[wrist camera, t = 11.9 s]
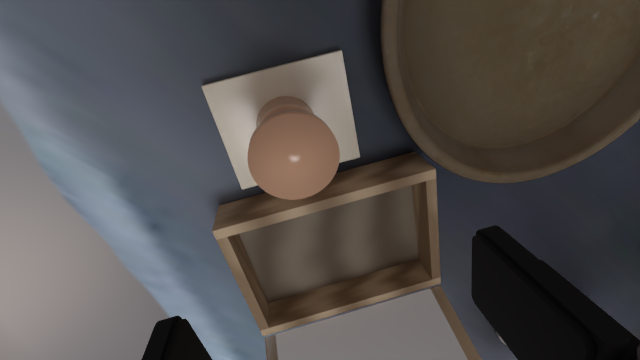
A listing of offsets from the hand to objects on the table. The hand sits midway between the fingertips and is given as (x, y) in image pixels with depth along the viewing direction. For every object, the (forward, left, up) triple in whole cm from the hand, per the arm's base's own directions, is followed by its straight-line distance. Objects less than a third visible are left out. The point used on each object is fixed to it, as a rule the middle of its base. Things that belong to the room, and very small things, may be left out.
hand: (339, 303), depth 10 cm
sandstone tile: (0, 0, -21) cm, 21 cm away
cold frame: (-1, +14, -21) cm, 25 cm away
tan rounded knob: (0, 0, -20) cm, 20 cm away
